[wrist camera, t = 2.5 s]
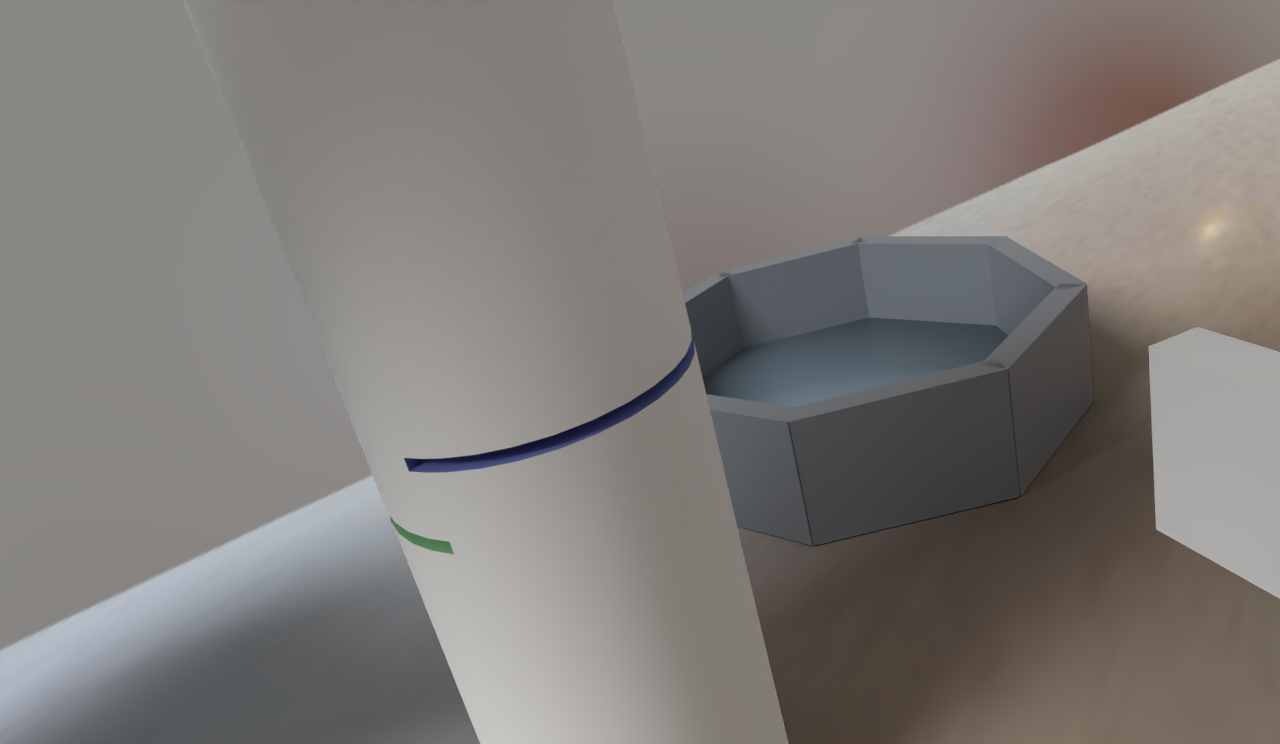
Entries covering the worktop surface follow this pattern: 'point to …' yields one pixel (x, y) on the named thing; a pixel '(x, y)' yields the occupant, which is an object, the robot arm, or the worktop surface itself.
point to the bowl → (888, 379)
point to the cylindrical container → (509, 351)
